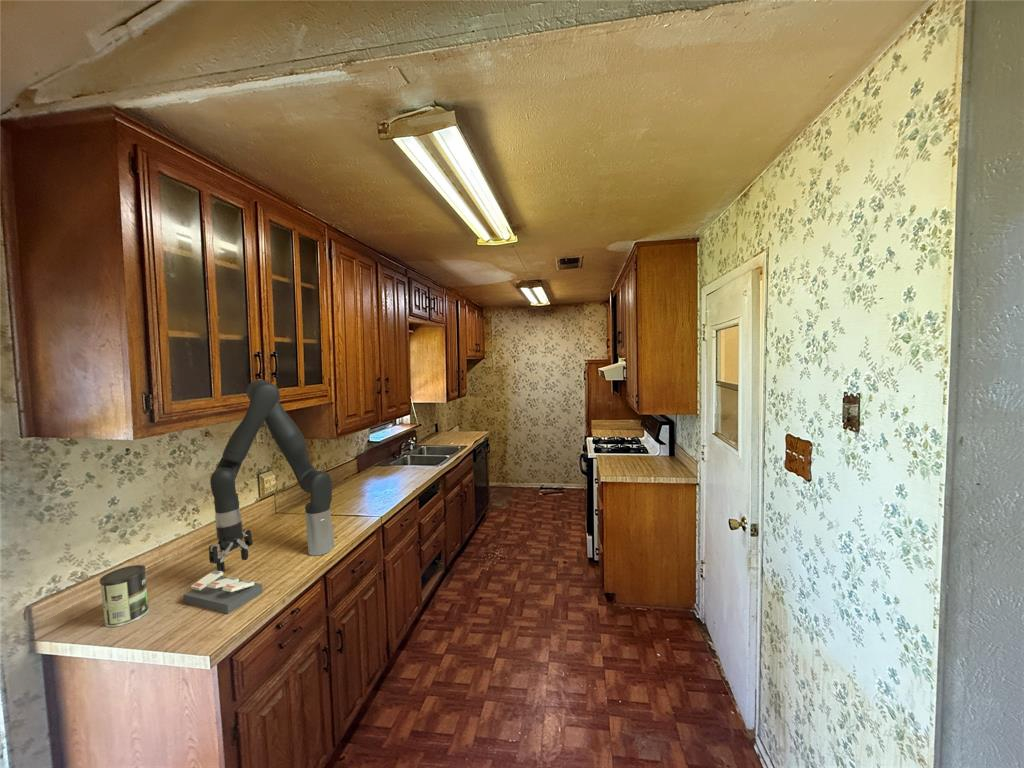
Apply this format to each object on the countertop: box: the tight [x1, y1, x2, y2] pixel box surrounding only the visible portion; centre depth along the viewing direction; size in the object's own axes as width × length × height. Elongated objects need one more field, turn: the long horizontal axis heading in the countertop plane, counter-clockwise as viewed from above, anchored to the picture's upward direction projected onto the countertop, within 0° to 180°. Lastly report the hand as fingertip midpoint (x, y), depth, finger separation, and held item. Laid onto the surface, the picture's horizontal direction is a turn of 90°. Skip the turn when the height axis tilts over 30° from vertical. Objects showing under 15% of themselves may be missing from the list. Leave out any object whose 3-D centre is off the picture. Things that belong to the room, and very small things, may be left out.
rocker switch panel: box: [182, 575, 263, 615], centre depth 136 cm, size 12×20×3 cm, turn 71°
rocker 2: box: [207, 577, 240, 589], centre depth 136 cm, size 8×5×1 cm, turn 161°
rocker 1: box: [190, 569, 224, 590], centre depth 138 cm, size 8×5×1 cm, turn 161°
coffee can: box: [99, 564, 150, 628], centre depth 127 cm, size 10×10×14 cm
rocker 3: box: [222, 580, 255, 592], centre depth 134 cm, size 8×5×1 cm, turn 161°
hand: (233, 565), depth 147 cm, fingers open, 8 cm apart
